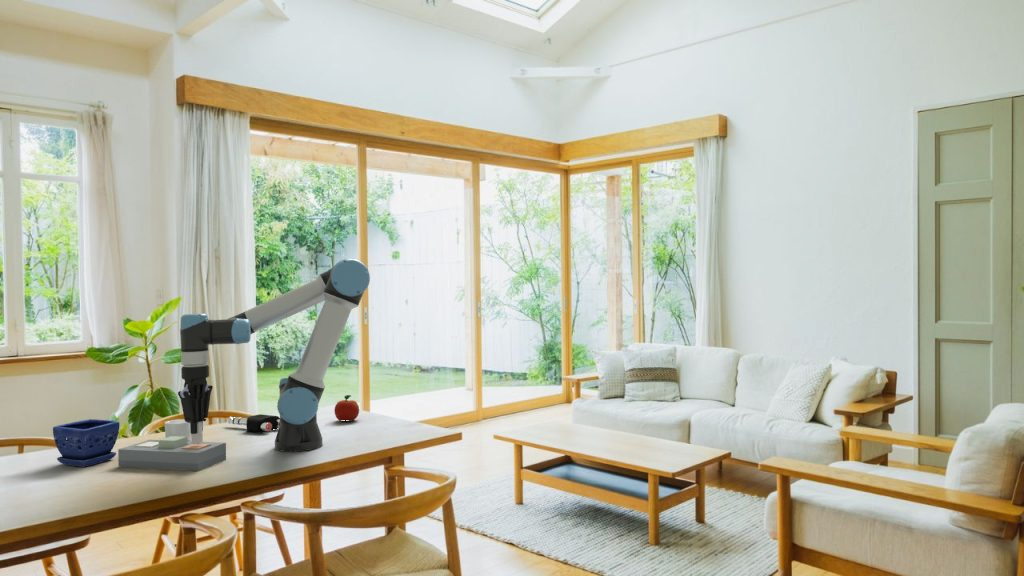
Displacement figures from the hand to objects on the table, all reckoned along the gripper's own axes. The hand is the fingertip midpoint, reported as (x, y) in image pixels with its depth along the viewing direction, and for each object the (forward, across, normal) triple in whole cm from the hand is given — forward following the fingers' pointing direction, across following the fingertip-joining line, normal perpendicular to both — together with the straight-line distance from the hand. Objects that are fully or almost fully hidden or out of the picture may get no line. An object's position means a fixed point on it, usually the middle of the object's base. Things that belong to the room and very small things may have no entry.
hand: (197, 443), depth 207 cm
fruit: (+7, -69, +15) cm, 71 cm away
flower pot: (+6, +4, -36) cm, 36 cm away
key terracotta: (+4, 0, 0) cm, 4 cm away
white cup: (+6, -12, -16) cm, 21 cm away
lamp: (+7, -49, -14) cm, 52 cm away
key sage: (+2, 0, -8) cm, 9 cm away
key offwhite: (+4, 0, -16) cm, 17 cm away
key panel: (+6, 0, -8) cm, 10 cm away
